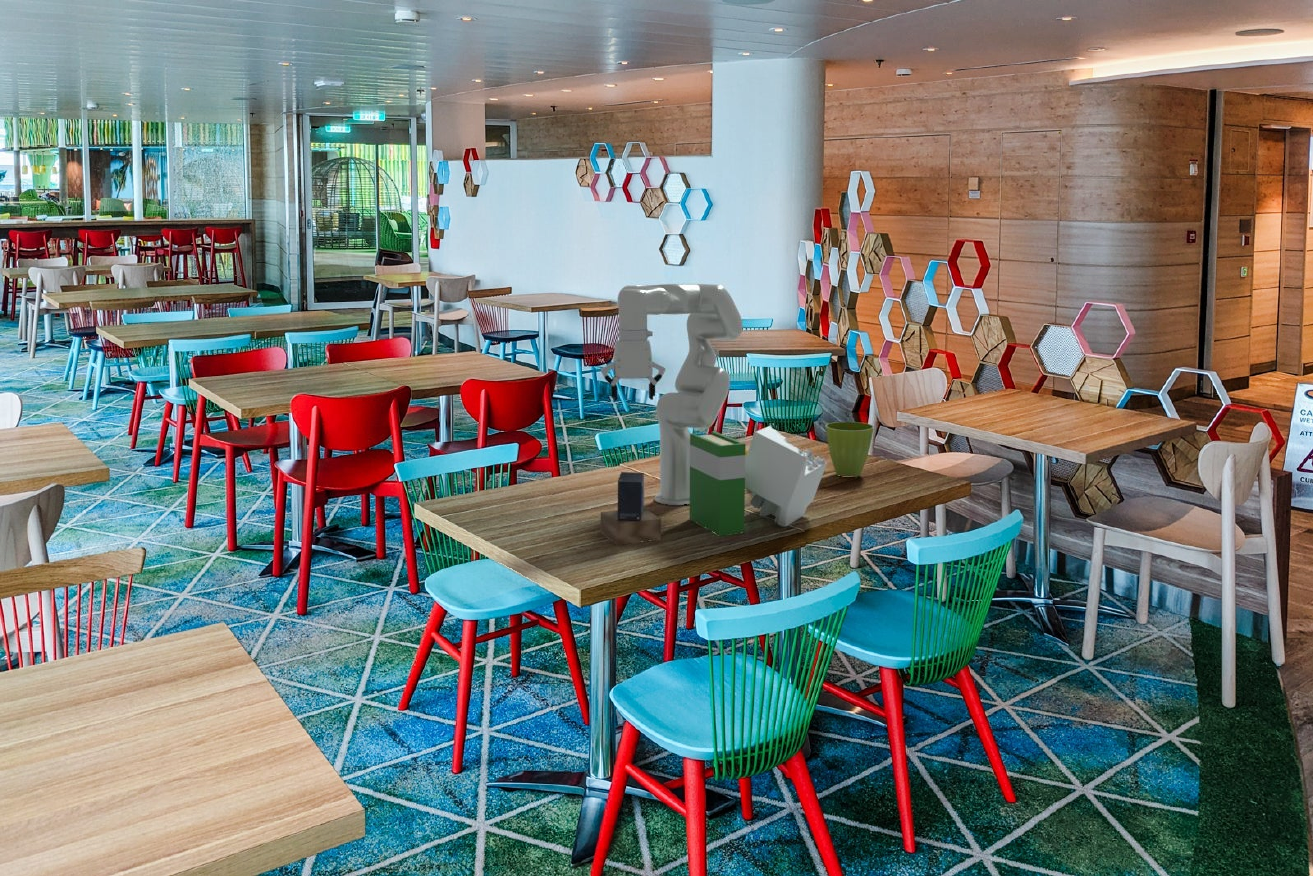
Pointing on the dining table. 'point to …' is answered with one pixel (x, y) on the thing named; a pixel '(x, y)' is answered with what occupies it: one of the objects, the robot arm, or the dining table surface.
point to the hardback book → (717, 483)
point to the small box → (630, 496)
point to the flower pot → (849, 446)
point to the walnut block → (630, 528)
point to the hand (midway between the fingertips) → (633, 399)
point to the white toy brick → (781, 476)
